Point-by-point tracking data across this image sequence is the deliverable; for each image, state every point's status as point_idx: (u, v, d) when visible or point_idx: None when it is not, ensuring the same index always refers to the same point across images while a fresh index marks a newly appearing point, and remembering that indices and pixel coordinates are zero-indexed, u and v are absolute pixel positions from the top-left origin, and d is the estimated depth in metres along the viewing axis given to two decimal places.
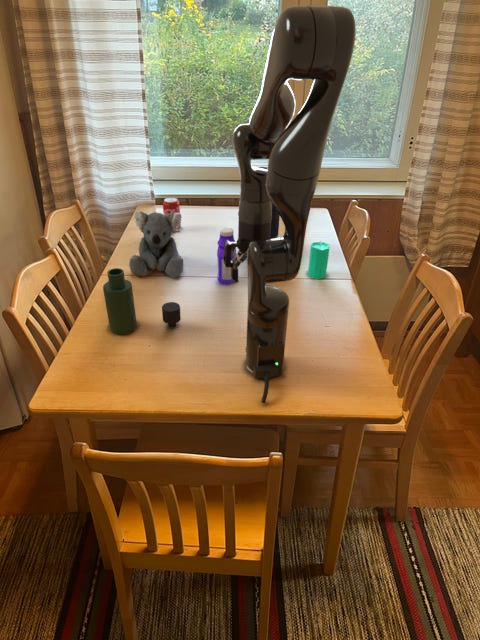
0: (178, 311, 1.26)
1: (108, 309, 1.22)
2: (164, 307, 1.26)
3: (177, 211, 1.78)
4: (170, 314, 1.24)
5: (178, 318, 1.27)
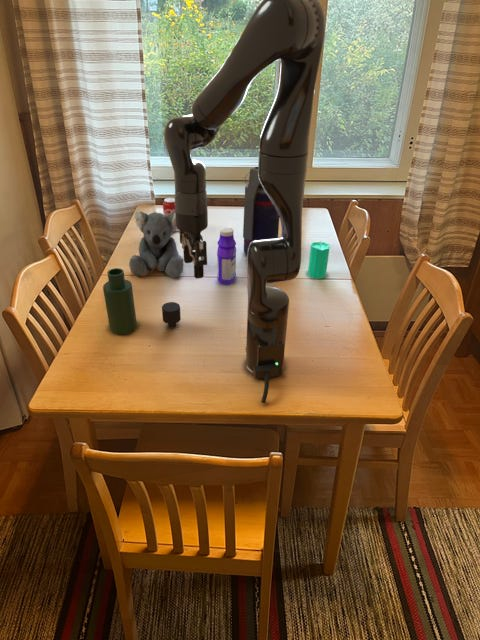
0: (178, 311, 1.26)
1: (108, 309, 1.22)
2: (164, 307, 1.26)
3: None
4: (170, 314, 1.24)
5: (178, 318, 1.27)
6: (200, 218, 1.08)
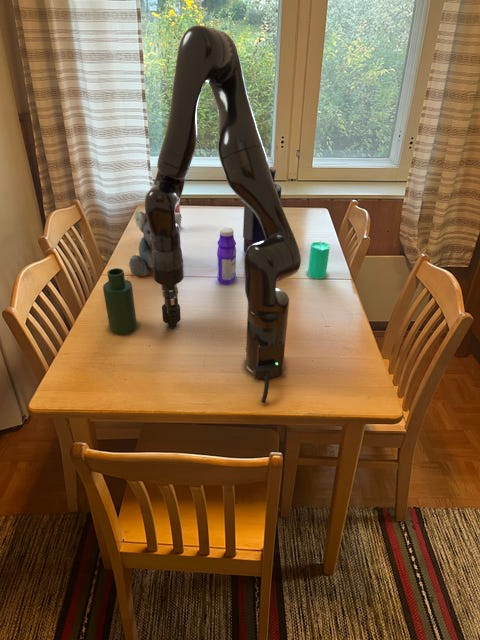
0: (178, 311, 1.26)
1: (108, 309, 1.22)
2: (164, 307, 1.26)
3: (177, 211, 1.78)
4: None
5: (178, 318, 1.27)
6: (174, 273, 1.17)
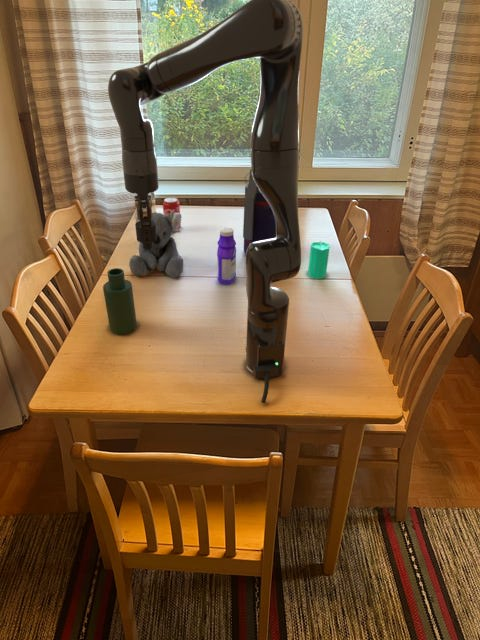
0: (153, 228, 1.12)
1: (108, 309, 1.22)
2: (137, 224, 1.13)
3: (177, 211, 1.78)
4: None
5: (153, 237, 1.14)
6: (146, 179, 1.04)
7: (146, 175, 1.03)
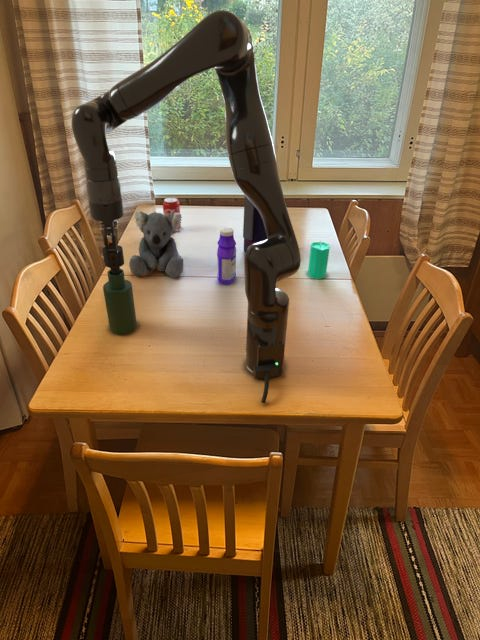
0: (120, 253, 1.15)
1: (108, 309, 1.22)
2: (105, 249, 1.15)
3: (177, 211, 1.78)
4: None
5: (121, 262, 1.16)
6: (110, 207, 1.06)
7: (110, 203, 1.06)
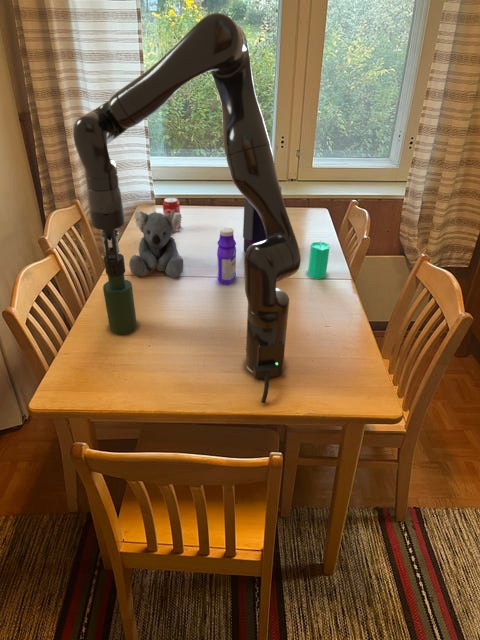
0: (121, 262, 1.16)
1: (108, 309, 1.22)
2: (106, 257, 1.16)
3: (177, 211, 1.78)
4: None
5: (122, 270, 1.17)
6: (111, 216, 1.07)
7: (111, 212, 1.07)
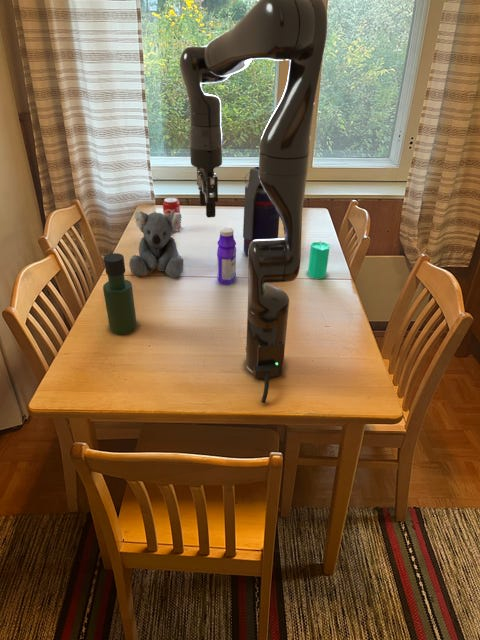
0: (121, 262, 1.16)
1: (108, 309, 1.22)
2: (106, 257, 1.16)
3: (177, 211, 1.78)
4: (112, 265, 1.15)
5: (122, 270, 1.17)
6: (213, 154, 1.09)
7: (213, 150, 1.08)
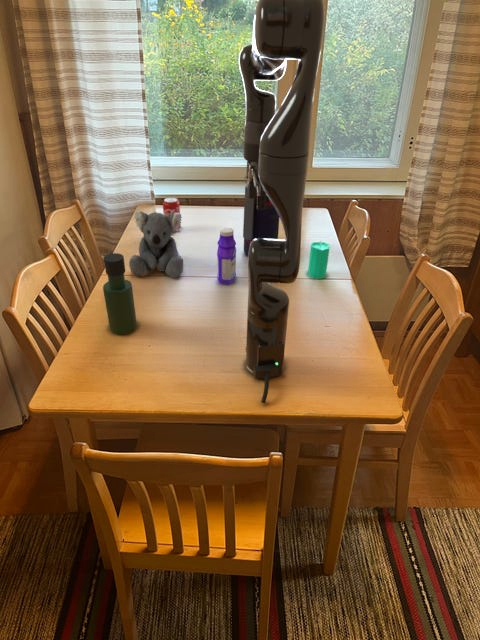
0: (121, 262, 1.16)
1: (108, 309, 1.22)
2: (106, 257, 1.16)
3: (177, 211, 1.78)
4: (112, 265, 1.15)
5: (122, 270, 1.17)
6: None
7: None
